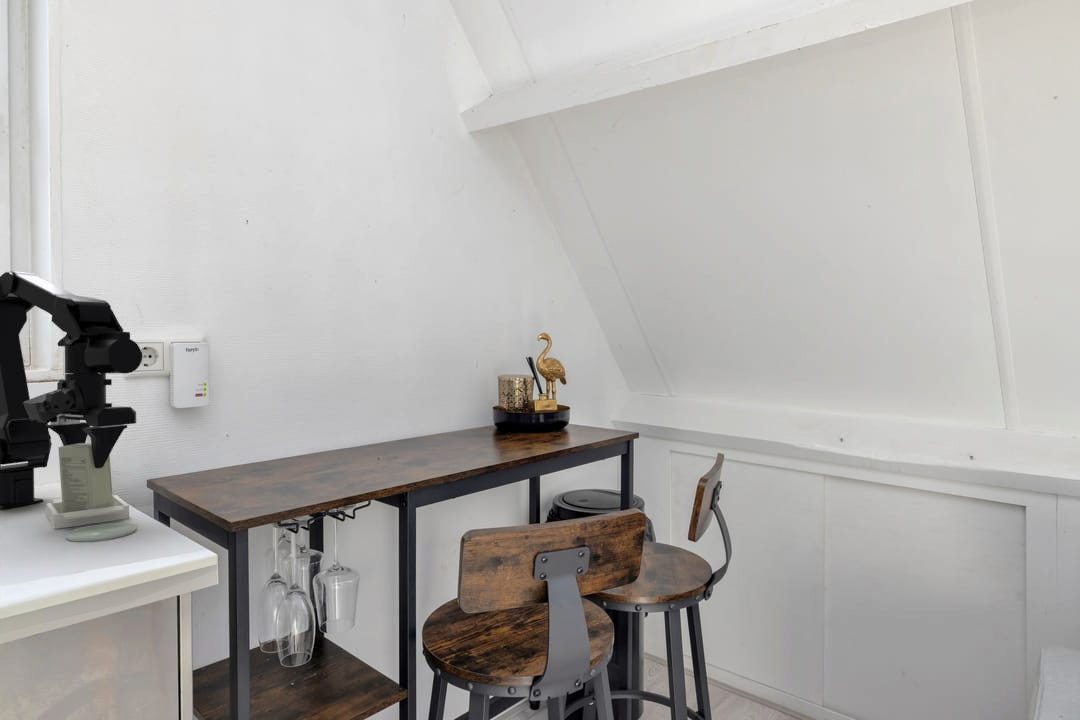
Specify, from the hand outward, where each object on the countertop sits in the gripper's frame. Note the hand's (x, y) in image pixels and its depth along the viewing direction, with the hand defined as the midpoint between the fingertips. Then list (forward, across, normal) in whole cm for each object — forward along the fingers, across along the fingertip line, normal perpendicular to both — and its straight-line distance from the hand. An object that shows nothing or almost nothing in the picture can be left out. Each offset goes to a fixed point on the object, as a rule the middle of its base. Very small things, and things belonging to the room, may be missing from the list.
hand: (86, 466), depth 115 cm
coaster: (+8, +14, -5) cm, 17 cm away
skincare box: (+9, 0, 0) cm, 9 cm away
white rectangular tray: (+8, 0, 0) cm, 8 cm away
